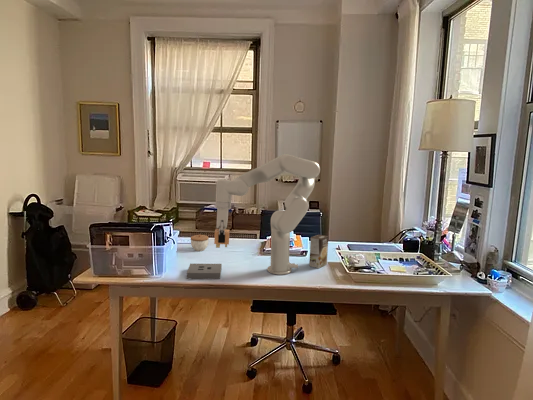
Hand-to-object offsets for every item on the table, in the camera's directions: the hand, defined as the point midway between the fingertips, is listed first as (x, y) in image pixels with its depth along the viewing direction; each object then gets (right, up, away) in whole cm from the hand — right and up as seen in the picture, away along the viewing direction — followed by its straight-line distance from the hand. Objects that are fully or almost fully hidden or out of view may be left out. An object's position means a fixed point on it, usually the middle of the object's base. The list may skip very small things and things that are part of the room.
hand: (221, 240), depth 194 cm
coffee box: (+50, -16, +20) cm, 56 cm away
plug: (0, -3, +1) cm, 3 cm away
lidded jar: (-18, -10, +43) cm, 48 cm away
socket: (-9, -17, +3) cm, 19 cm away
